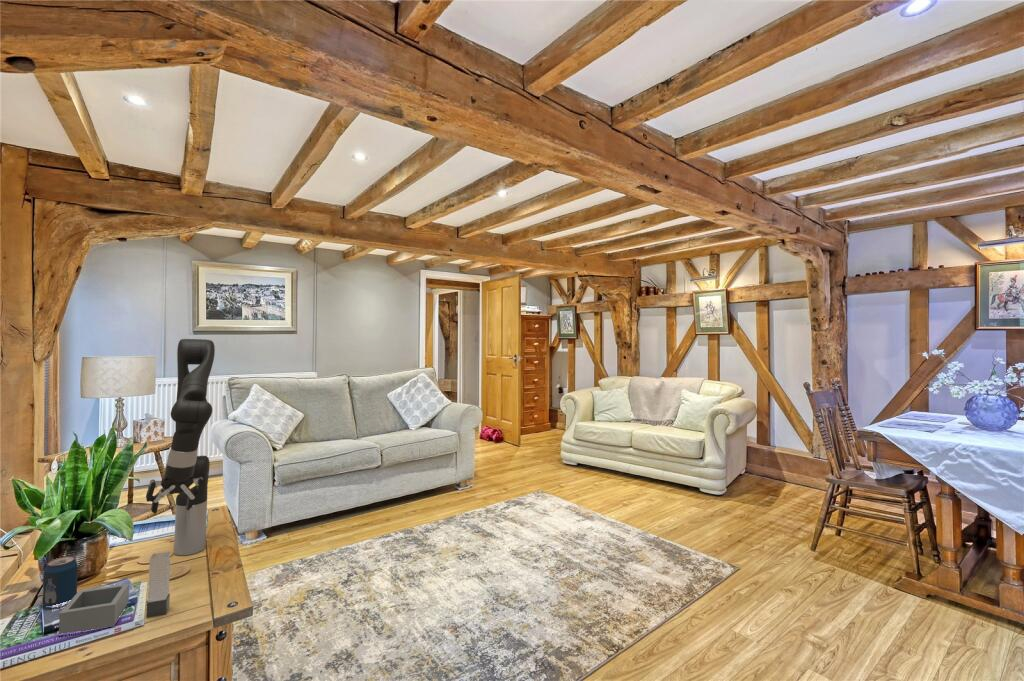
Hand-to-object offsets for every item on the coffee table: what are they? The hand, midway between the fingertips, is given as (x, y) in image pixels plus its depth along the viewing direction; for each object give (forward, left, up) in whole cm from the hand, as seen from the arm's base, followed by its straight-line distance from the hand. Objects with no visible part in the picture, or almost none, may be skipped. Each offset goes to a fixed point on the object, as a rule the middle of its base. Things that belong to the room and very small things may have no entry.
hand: (171, 510), depth 145 cm
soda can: (+7, -24, -21) cm, 32 cm away
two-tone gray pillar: (+22, +2, -21) cm, 30 cm away
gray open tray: (+20, -12, -21) cm, 31 cm away
